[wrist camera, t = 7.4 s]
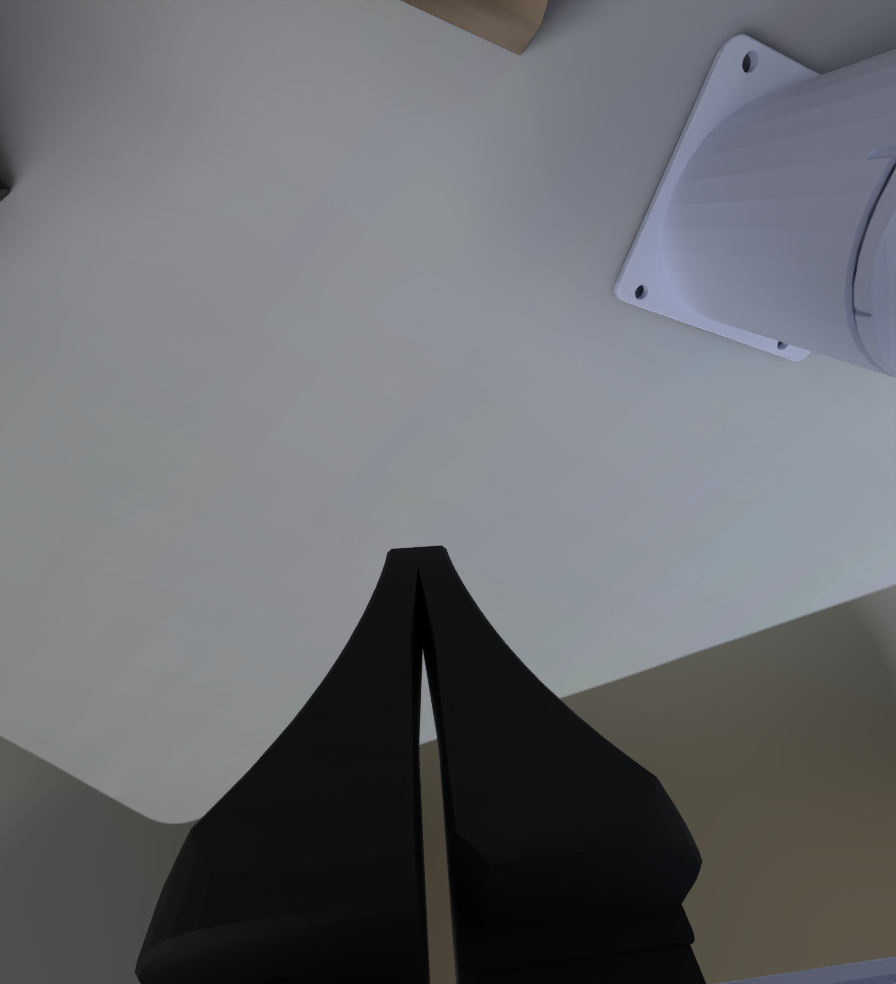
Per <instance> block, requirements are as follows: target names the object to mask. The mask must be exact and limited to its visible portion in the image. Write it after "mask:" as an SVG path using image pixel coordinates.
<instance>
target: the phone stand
mask: <svg viewBox="0 0 896 984" xmlns="http://www.w3.org/2000/svg"><path fill="white" fill-rule="evenodd" d="M8 194H9V191H8V189H7V188H6V187H5V186H4V185H3V184H2V183H1V182H0V201H1V200H3V199H4V198H5V197H6V196H7V195H8Z"/></svg>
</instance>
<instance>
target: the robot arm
mask: <svg viewBox="0 0 896 984" xmlns="http://www.w3.org/2000/svg"><path fill="white" fill-rule="evenodd" d="M745 55H748V56H749V57H750V61H751V64H750V68H749V70H748V71H747V73H745V72H744V70H743V68H742V62H743V59H744V57H745ZM640 285H642V286H643V289H644V290H643V293H642V295H641V296H640V297H638V298H636V297H635V290H636V289H637V288H638V287H639V286H640ZM614 294H615V296H616V297H617V298H618V299H619V300H621V301H624V302H627V303H629V304H632V305H635V306H638V307H641V308H644V309H647V310H649V311H652V312H655V313H658V314H661V315H664V316H667V317H669V318H672V319H675V320H678V321H681V322H684V323H687V324H689V325H692V326H695V327H698V328H701V329H704V330H707V331H709V332H712V333H715V334H718V335H721V336H724V337H727V338H729V339H732V340H735V341H738V342H741V343H744V344H747V345H749V346H752V347H755V348H758V349H761V350H764V351H767V352H769V353H772V354H775V355H778V356H781V357H784V358H787V359H789V360H792V361H800V360H803V359H804V358H806V357H807V356H808V355H809V354H810V353H811V351H812V352H815V353H818V354H821V355H825V356H828V357H831V358H834V359H837V360H841V361H844V362H847V363H850V364H853V365H857V366H860V367H863V368H866V369H869V370H872V371H876V372H879V373H882V374H885V375H888V376H892V377H896V49H893V50H891V51H888V52H885V53H882V54H879V55H876V56H874V57H871V58H868V59H865V60H862V61H859V62H857V63H854V64H851V65H848V66H845V67H842V68H840V69H837V70H834V71H831V72H828V73H825V74H823V75H820V74H818V73H816V72H814V71H813V70H811V69H809V68H807V67H805V66H803V65H801V64H800V63H798V62H796V61H794V60H792V59H790V58H788V57H787V56H785V55H783V54H781V53H779V52H777V51H775V50H774V49H772V48H770V47H768V46H766V45H764V44H762V43H761V42H759V41H757V40H755V39H753V38H751V37H749V36H748V35H745V34H738V35H736V36H733V37H732V38H730V39H728V40H727V41H726V42H725V43H724V44H722V46H721V48H720V49H719V51H718V53H717V55H716V57H715V60H714V62H713V64H712V66H711V69H710V71H709V73H708V75H707V78H706V80H705V82H704V84H703V87H702V89H701V91H700V94H699V96H698V98H697V100H696V103H695V105H694V107H693V109H692V112H691V114H690V116H689V118H688V121H687V123H686V125H685V127H684V130H683V132H682V134H681V136H680V139H679V141H678V143H677V145H676V148H675V150H674V152H673V154H672V157H671V159H670V161H669V163H668V166H667V168H666V170H665V173H664V175H663V177H662V179H661V182H660V184H659V186H658V188H657V191H656V193H655V195H654V197H653V200H652V202H651V204H650V206H649V209H648V211H647V213H646V215H645V218H644V220H643V222H642V224H641V227H640V229H639V231H638V233H637V236H636V238H635V240H634V242H633V245H632V247H631V249H630V252H629V254H628V256H627V258H626V261H625V263H624V265H623V267H622V270H621V272H620V274H619V276H618V279H617V281H616V283H615V287H614ZM779 341H780V342H782V343H781V344H780V346H778V347H777V344H778V342H779ZM423 653H424V659H425V665H426V671H427V678H428V684H429V690H430V696H431V703H432V709H433V715H434V721H435V727H436V734H437V741H438V748H439V758H440V770H441V785H442V797H443V811H444V825H445V838H446V852H447V865H448V879H449V892H450V907H451V921H452V935H453V949H454V962H455V976H456V984H706V982H705V980H704V978H703V975H702V973H701V970H700V968H699V965H698V963H697V960H696V958H695V955H694V953H693V950H692V948H691V945H690V944H692V943H693V942H694V941H695V939H694V934H693V930H692V928H691V925H690V923H689V921H688V918H687V916H686V914H685V911H684V909H683V906H682V902H683V900H684V899H685V897H686V896H687V894H688V892H689V891H690V889H691V888H692V886H693V884H694V883H695V881H696V879H697V877H698V874H699V871H700V868H701V864H702V859H701V856H700V853H699V850H698V848H697V846H696V844H695V842H694V839H693V838H692V835H691V833H690V831H689V829H688V827H687V825H686V823H685V822H684V820H683V818H682V817H681V815H680V813H679V812H678V810H677V808H676V807H675V805H674V803H673V802H672V800H671V799H670V797H669V795H668V794H667V792H666V791H665V790H664V788H663V786H662V784H661V783H660V781H659V780H658V779H657V777H656V776H654V775H653V774H652V773H650V772H649V771H648V770H646V769H645V768H643V767H642V766H641V765H639V764H638V763H637V762H635V761H634V760H633V759H631V758H629V757H628V756H627V755H626V754H625V753H623V752H622V751H621V750H619V749H618V748H617V747H615V746H614V745H613V744H612V743H610V742H609V741H608V740H606V739H605V738H604V737H603V736H601V735H600V734H599V733H598V732H597V731H595V730H594V729H593V728H592V727H591V726H590V725H588V724H587V723H586V722H585V721H583V720H582V719H581V718H580V717H579V716H577V715H576V714H575V713H574V712H573V711H572V710H571V709H570V708H569V707H568V706H566V704H564V703H563V702H562V701H561V700H560V699H559V698H558V697H557V696H556V695H555V694H554V693H553V692H552V691H550V690H549V689H548V688H547V687H546V686H545V685H544V684H543V683H542V682H541V681H540V680H539V679H538V678H537V677H536V676H535V675H534V674H533V673H532V672H531V671H530V670H529V669H528V668H527V667H526V666H525V665H524V663H523V662H522V661H521V660H520V659H519V658H518V657H517V656H516V654H515V653H514V652H513V651H512V650H511V649H510V648H509V646H508V645H507V644H506V643H505V642H504V640H503V639H502V638H501V637H500V636H499V634H498V633H497V632H496V630H495V629H494V628H493V627H492V625H491V624H490V623H489V621H488V620H487V619H486V617H485V616H484V614H483V613H482V612H481V610H480V609H479V607H478V606H477V604H476V603H475V601H474V600H473V598H472V597H471V595H470V594H469V592H468V591H467V589H466V587H465V586H464V584H463V582H462V581H461V579H460V577H459V575H458V573H457V572H456V570H455V568H454V566H453V564H452V562H451V560H450V557H449V555H448V552H447V549H446V548H444V547H443V546H428V547H413V548H398V549H391V550H390V551H389V552H388V553H387V557H386V561H385V564H384V567H383V570H382V573H381V576H380V578H379V581H378V583H377V586H376V588H375V590H374V592H373V595H372V597H371V599H370V601H369V603H368V605H367V607H366V610H365V612H364V614H363V616H362V617H361V619H360V621H359V623H358V625H357V626H356V628H355V630H354V632H353V634H352V635H351V637H350V639H349V641H348V643H347V644H346V646H345V647H344V649H343V651H342V652H341V654H340V656H339V657H338V659H337V660H336V662H335V663H334V665H333V666H332V668H331V669H330V671H329V672H328V674H327V675H326V677H325V678H324V680H323V681H322V682H321V684H320V685H319V686H318V688H317V689H316V690H315V692H314V693H313V694H312V696H311V697H310V699H309V700H308V701H307V703H306V704H305V705H304V707H303V708H302V709H301V710H300V712H299V713H298V714H297V715H296V717H295V718H294V719H293V720H292V722H291V723H290V724H289V725H288V726H287V728H286V729H285V730H284V731H283V732H282V733H281V734H280V736H279V737H278V738H277V739H276V740H275V741H274V742H273V744H272V745H271V746H270V747H269V748H268V749H267V751H266V752H265V753H264V754H263V755H262V756H261V757H260V759H259V760H258V761H257V762H256V763H255V764H254V765H253V766H252V767H251V769H250V770H249V771H248V772H247V773H246V774H245V775H244V776H243V777H242V778H241V779H240V780H239V781H238V782H237V783H236V784H235V785H234V786H233V787H232V788H231V789H230V790H229V791H228V792H227V793H226V794H225V795H224V796H223V797H222V798H221V799H220V800H219V801H218V802H217V803H216V804H215V805H214V806H213V807H212V808H211V809H210V810H209V811H208V812H207V813H206V814H205V815H204V816H203V817H202V818H201V819H200V820H199V821H198V822H197V823H196V824H195V825H194V826H193V828H192V829H191V830H190V832H189V834H188V836H187V838H186V840H185V842H184V844H183V846H182V848H181V850H180V852H179V854H178V856H177V858H176V860H175V863H174V865H173V867H172V870H171V872H170V874H169V876H168V878H167V880H166V882H165V884H164V887H163V889H162V892H161V894H160V897H159V900H158V902H157V905H156V908H155V911H154V914H153V917H152V920H151V923H150V925H149V928H148V931H147V934H146V937H145V940H144V943H143V946H142V948H141V951H140V954H139V957H138V960H137V964H136V970H135V973H136V975H137V977H138V980H139V981H140V983H141V984H430V972H429V951H428V931H427V911H426V891H425V869H424V847H423V826H422V805H421V783H420V761H419V734H420V708H421V682H422V654H423ZM717 984H896V957H889V958H883V959H876V960H869V961H863V962H857V963H849V964H843V965H836V966H830V967H824V968H816V969H810V970H803V971H797V972H790V973H783V974H777V975H770V976H763V977H757V978H750V979H744V980H737V981H730V982H723V983H717Z"/></svg>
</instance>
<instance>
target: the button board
mask: <svg viewBox="0 0 896 984" xmlns="http://www.w3.org/2000/svg"><path fill="white" fill-rule="evenodd" d="M401 1H403V2H406V3H408V4H410V5H412V6H414V7H416V8H419V9H421V10H423V11H425V12H427V13H429V14H432V15H434V16H436V17H438V18H440V19H442V20H445V21H447V22H449V23H451V24H453V25H455V26H458V27H460V28H462V29H464V30H466V31H468V32H471V33H473V34H475V35H477V36H479V37H481V38H484V39H486V40H488V41H490V42H492V43H494V44H497V45H499V46H501V47H503V48H505V49H507V50H510V51H512V52H514V53H516V54H518V55H520V54H521V53H522V52H523V50H524V49H525V47H526V46H527V44H528V43H529V42H530V40H531V39H532V37H533V36H534V34H535V33H536V32H537V30H538V29H539V27H540V26H541V23H542V20H543V16H544V13H545V10H546V6H547V3H548V0H401Z"/></svg>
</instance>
